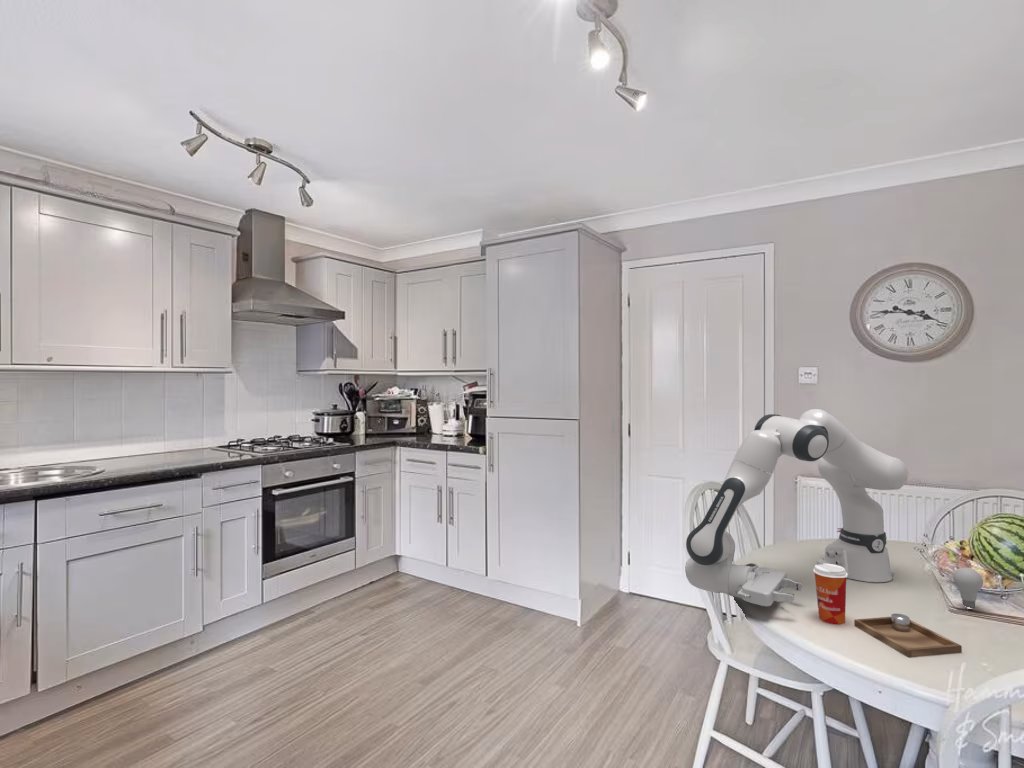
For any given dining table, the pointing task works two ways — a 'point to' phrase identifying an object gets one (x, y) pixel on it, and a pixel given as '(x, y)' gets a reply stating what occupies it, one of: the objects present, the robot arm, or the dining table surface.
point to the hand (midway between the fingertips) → (797, 592)
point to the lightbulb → (968, 585)
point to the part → (900, 622)
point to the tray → (908, 638)
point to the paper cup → (831, 592)
